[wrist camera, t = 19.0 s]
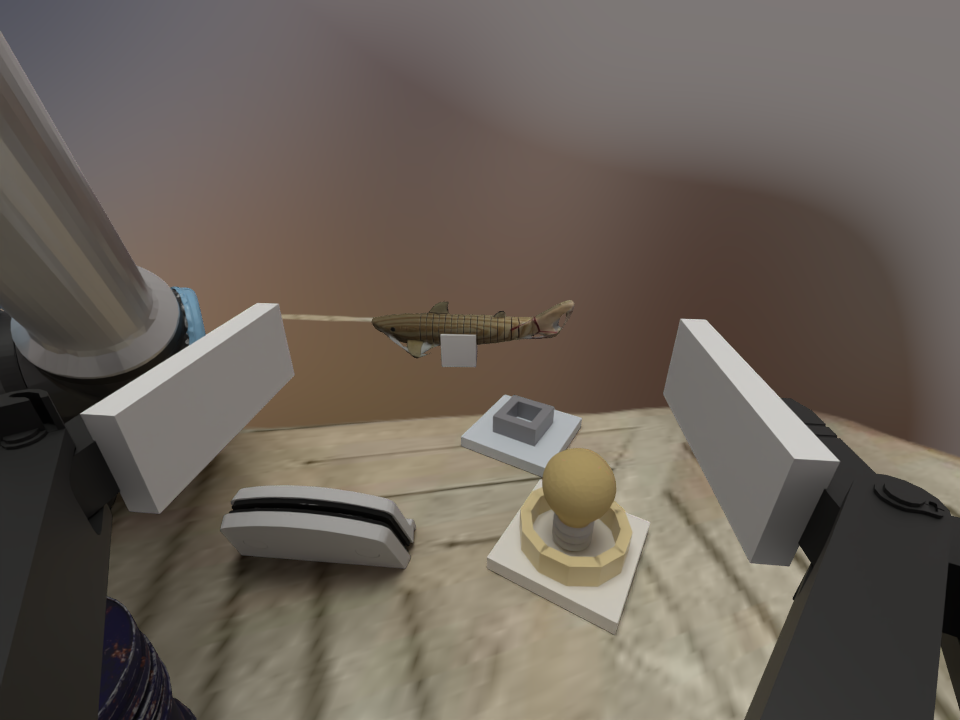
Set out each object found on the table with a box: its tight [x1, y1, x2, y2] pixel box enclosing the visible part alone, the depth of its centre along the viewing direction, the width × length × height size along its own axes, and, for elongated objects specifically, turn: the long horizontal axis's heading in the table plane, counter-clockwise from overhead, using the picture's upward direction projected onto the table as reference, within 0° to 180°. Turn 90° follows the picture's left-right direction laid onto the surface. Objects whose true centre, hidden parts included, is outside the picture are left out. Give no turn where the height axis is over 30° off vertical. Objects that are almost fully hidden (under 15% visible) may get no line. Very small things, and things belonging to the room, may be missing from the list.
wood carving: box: [372, 300, 574, 367], centre depth 77 cm, size 9×35×11 cm, turn 88°
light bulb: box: [542, 448, 616, 551], centre depth 40 cm, size 6×6×10 cm
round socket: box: [487, 479, 650, 635], centre depth 42 cm, size 12×12×4 cm
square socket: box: [461, 395, 582, 477], centre depth 58 cm, size 12×12×4 cm
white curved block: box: [220, 485, 416, 569], centre depth 41 cm, size 17×5×10 cm, turn 85°
